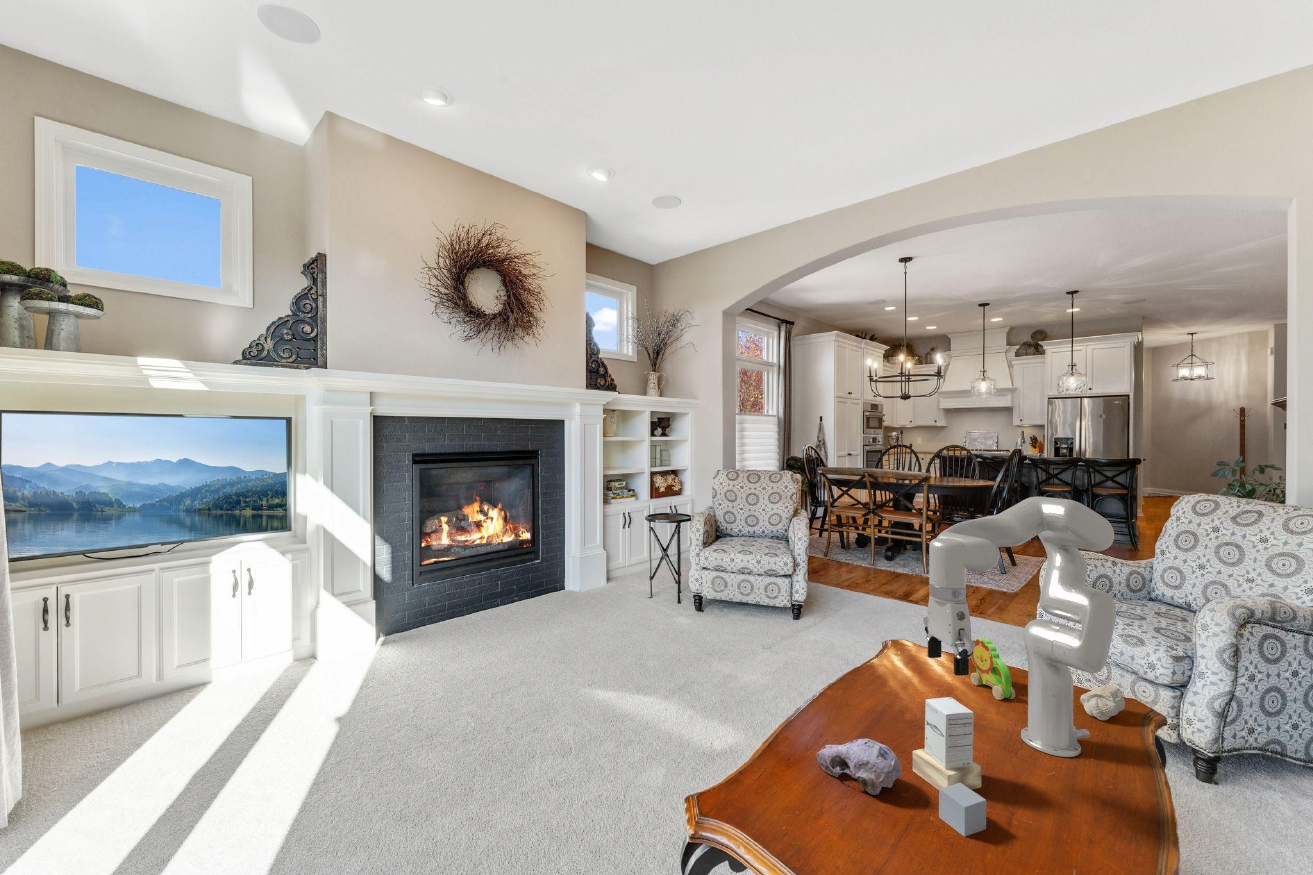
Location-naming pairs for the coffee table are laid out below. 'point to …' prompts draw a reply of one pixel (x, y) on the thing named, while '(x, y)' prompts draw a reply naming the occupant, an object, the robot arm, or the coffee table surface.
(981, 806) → the slate block
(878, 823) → the coffee table surface
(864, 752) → the skull
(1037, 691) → the robot arm
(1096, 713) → the fossil replica
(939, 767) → the maple block
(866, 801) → the coffee table surface
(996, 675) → the toy lion
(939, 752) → the supplement box
